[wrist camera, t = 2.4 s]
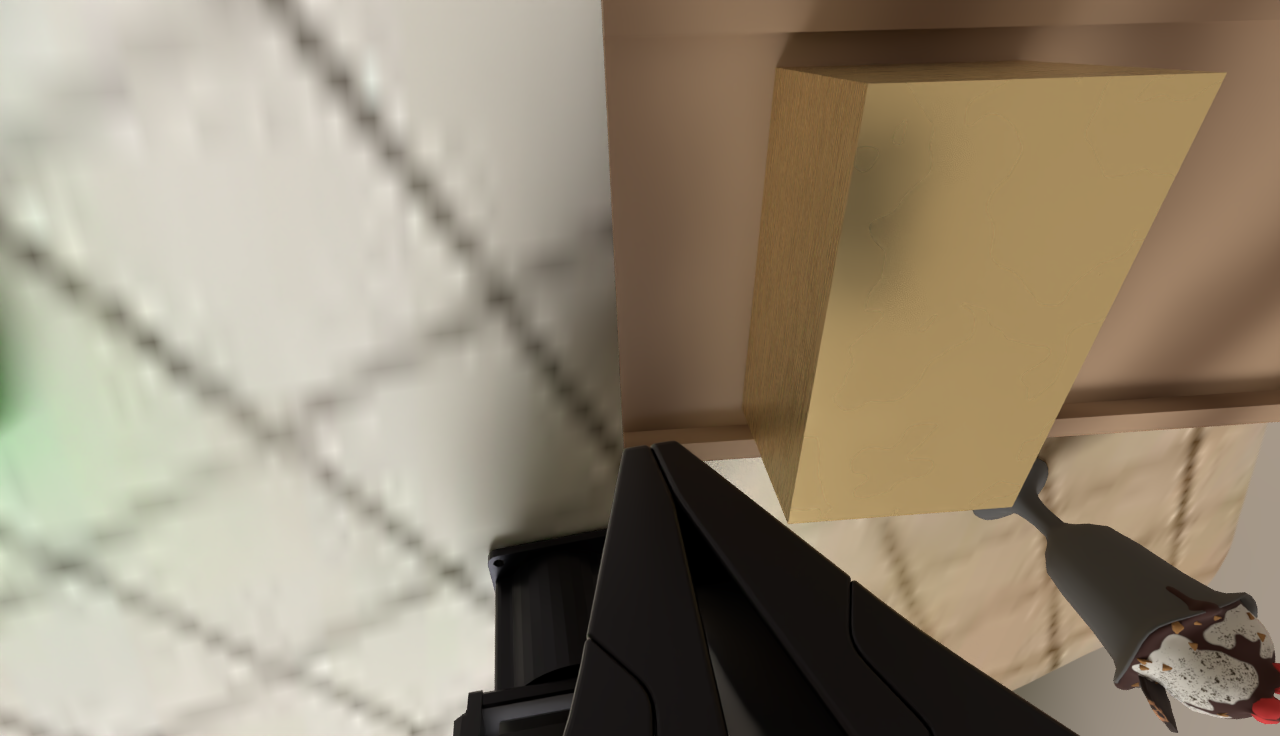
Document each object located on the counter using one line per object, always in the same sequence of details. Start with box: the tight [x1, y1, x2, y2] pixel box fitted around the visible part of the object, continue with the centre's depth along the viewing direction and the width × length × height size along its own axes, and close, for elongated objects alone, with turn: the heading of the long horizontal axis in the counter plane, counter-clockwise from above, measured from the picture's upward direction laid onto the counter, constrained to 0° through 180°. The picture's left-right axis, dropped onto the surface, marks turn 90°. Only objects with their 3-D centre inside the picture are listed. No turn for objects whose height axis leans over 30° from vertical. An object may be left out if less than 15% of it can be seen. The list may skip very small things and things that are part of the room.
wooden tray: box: [601, 0, 1280, 461], centre depth 16 cm, size 26×15×4 cm, turn 91°
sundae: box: [973, 459, 1280, 733], centre depth 26 cm, size 7×7×15 cm
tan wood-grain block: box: [742, 60, 1227, 524], centre depth 13 cm, size 6×10×5 cm, turn 1°
